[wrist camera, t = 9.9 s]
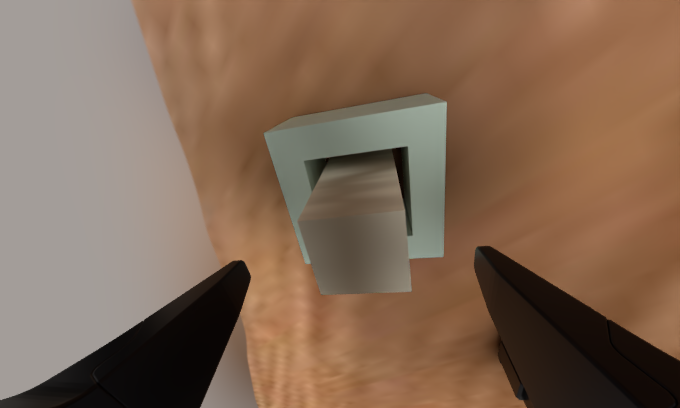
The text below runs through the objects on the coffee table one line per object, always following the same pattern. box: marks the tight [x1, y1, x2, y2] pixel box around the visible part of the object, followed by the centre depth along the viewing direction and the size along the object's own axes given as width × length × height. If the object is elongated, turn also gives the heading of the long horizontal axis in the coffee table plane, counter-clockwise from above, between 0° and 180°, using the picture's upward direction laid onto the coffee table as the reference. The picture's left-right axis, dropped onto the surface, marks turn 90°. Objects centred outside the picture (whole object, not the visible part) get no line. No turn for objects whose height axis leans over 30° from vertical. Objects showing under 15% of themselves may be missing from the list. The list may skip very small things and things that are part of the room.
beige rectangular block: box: [297, 148, 412, 295], centre depth 14 cm, size 4×4×10 cm
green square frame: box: [263, 93, 447, 264], centre depth 16 cm, size 9×9×5 cm
